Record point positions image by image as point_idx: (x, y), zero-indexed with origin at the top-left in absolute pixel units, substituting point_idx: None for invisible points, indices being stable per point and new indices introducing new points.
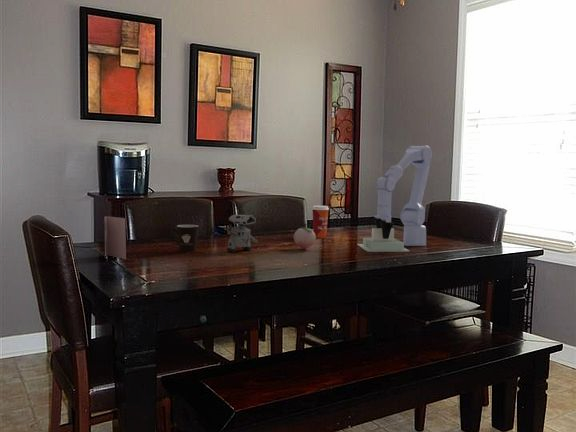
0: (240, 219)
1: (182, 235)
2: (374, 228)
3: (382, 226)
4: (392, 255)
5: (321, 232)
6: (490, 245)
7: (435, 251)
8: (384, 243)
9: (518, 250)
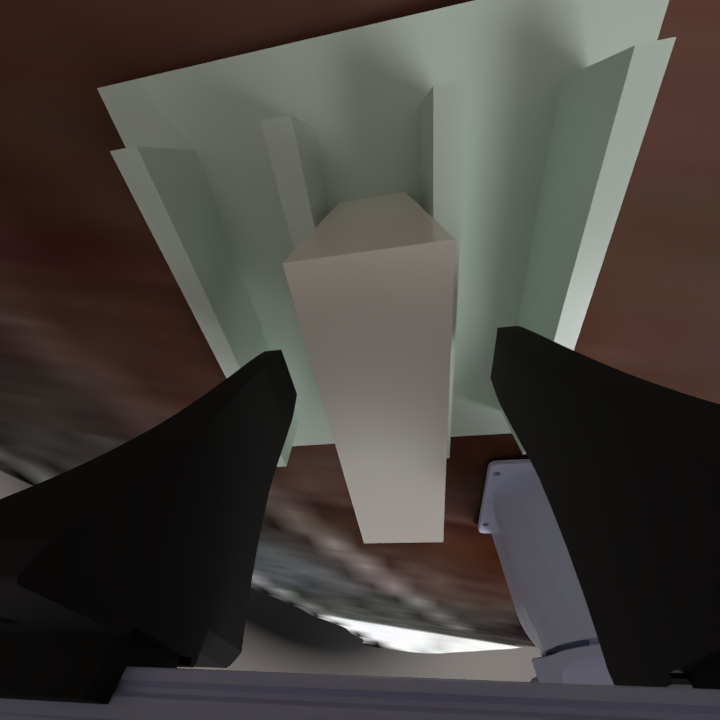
0: None
1: None
2: (382, 301)
3: (63, 476)
4: (65, 328)
5: None
6: (476, 629)
7: (322, 523)
8: (207, 329)
9: (389, 638)
